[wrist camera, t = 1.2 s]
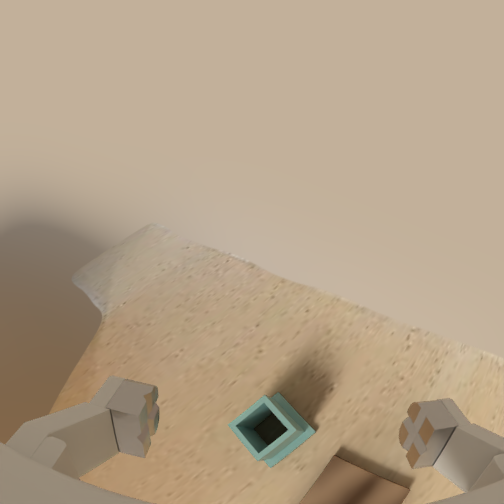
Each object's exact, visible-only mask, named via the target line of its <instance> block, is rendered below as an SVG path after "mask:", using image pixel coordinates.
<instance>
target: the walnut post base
mask: <svg viewBox="0 0 504 504" xmlns="http://www.w3.org/2000/svg"><path fill="white" fill-rule="evenodd" d="M409 491H410V489H409V488H406V487H404V486H401V485H399V484H396V483H394V482H392V481H389V480H387V479H385V478H382V477H380V476H378V475H375V474H373V473H371V472H369V471H367V470H364V469H362V468H360V467H358V466H356V465H354V464H352V463H350V462H348V461H346V460H344V459H342V458H340V457H338V456H336V455H334V456H333V457H332V459H331V460H330V462H329V463H328V465H327V466H326V468H325V469H324V471H323V472H322V473H321V475H320V476H319V478H318V479H317V480H316V482H315V483H314V485H313V486H312V487H311V489H310V490H309V491H308V493H307V494H306V495H305V497H304V498H303V499H302V500H301V502H300V503H299V504H401V503H402V502H403V501H404V499H405V498H406V496H407V495H408V493H409Z"/></svg>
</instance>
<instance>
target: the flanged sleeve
mask: <svg viewBox="0 0 504 504" xmlns="http://www.w3.org/2000/svg"><path fill="white" fill-rule="evenodd" d="M272 413H274V415H275V416H276V417H277V418H278V419H279V420H280V421H281V422H282V423H283V425H284V426H285V427H286V428H287V429H288V431H286V432H285V433H284V434H283V435H281V436H280V437H279V438H278V439H276V440H275V441H274V442H273V443H271V444H270V445H269V446H268V445H267V444H266V443H265V442H264V440H263V439H262V438H261V437H260V436H259V435H258V433H257V432H256V431H255V430H254V428H255V427H256V426H258V425H259V424H260V423H261V422H263V421H264V420H265V419H266V418H267V417H269V416H270V415H271V414H272ZM228 426H229V427H230V428H231V429H232V431H233V432H234V433H235V434H236V436H237V437H238V438H239V439H240V441H241V442H242V443H243V444H244V446H245V447H246V448H247V449H248V450H249V452H250V453H251V454H252V455H253V456H254V457H255V459H256V460H257V461H261V460H264V461H265V462H266V464H267V465H268V466H269V467H270V468H272V467H273V466H275V465H276V464H277V463H279V462H280V461H281V460H282V459H284V458H285V457H286V456H288V455H289V454H290V453H291V452H293V451H294V450H295V449H296V448H298V447H299V446H300V445H301V444H302V443H304V442H305V441H306V440H307V439H308V438H310V437H311V436H312V435H313V434H314V433H316V431H315V430H314V429H313V428H312V427H311V426H310V425H309V424H308V423H307V422H306V421H305V420H304V419H303V418H302V417H301V416H300V415H299V413H298V412H297V411H296V410H295V409H294V408H293V407H292V406H291V405H290V404H289V403H288V402H287V401H286V399H285V398H284V397H283V396H282V395H281V394H280V393H279V392H278V393H276V394H275V395H274V396H273V397H272V398H270V397H268V396H266V395H264V396H263V397H262V398H260V399H259V400H258V401H257V402H256V403H254V404H253V405H252V406H251V407H250V408H248V409H247V410H246V411H245V412H243V413H242V414H241V415H240V416H238V417H237V418H236V419H235V420H233V421H232V422H231V423H230V424H228Z"/></svg>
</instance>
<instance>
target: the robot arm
mask: <svg viewBox="0 0 504 504" xmlns="http://www.w3.org/2000/svg"><path fill="white" fill-rule="evenodd" d="M157 398H158V388H157V387H156V386H155V385H150V384H146V383H142V382H137V381H133V380H129V379H125V378H121V377H117V376H113V375H112V376H110V377H108V379H107V380H106V381H105V383H104V384H103V385H102V387H101V388H100V389H99V391H98V392H97V393H96V395H95V396H94V397H93V399H92V400H91V401H90V403H87V402H84V403H81V404H78V405H75V406H73V407H70V408H67V409H64V410H61V411H58V412H55V413H52V414H49V415H46V416H43V417H40V418H37V419H34V420H31V421H28V422H25V423H24V424H23V425H22V426H21V427H20V428H19V429H18V431H17V432H16V433H15V434H14V435H13V436H12V437H11V439H10V440H9V441H8V442H7V443H6V444H5V445H4V444H3V443H1V442H0V504H155V503H151V502H147V501H143V500H139V499H136V498H132V497H129V496H125V495H122V494H118V493H115V492H112V491H109V490H106V489H103V488H100V487H97V486H94V485H91V484H89V483H86V482H83V481H81V480H80V478H79V477H81V476H83V475H84V474H86V473H88V472H89V471H91V470H93V469H94V468H96V467H98V466H99V465H101V464H102V463H104V462H106V461H107V460H109V459H110V458H112V457H114V456H115V455H117V454H118V453H119V452H122V453H126V454H130V455H134V456H138V457H142V458H145V457H146V455H147V452H148V450H149V447H150V445H151V439H150V437H151V436H153V435H154V434H155V433H156V430H157V427H158V423H159V406H158V405H157V404H156V401H157ZM407 412H408V415H409V417H408V418H407V419H405V420H404V421H403V422H402V425H401V427H400V431H399V440H400V444H401V446H402V447H403V448H404V449H406V450H407V451H408V452H407V455H406V457H407V459H408V461H409V463H410V466H411V468H412V469H416V468H422V467H429V466H433V468H435V469H436V470H437V471H438V472H440V473H441V474H442V475H444V476H445V477H446V478H447V479H449V480H450V481H451V482H452V483H454V484H455V485H456V486H458V487H459V488H460V489H461V490H463V491H464V492H465V493H463V494H460V495H457V496H453V497H450V498H446V499H443V500H439V501H435V502H431V503H427V504H504V438H503V437H501V436H499V435H497V434H495V433H493V432H491V431H489V430H487V429H485V428H482V427H480V426H478V425H476V424H471V423H470V422H469V421H468V419H467V418H466V417H465V415H464V414H463V413H462V412H461V410H460V409H459V408H458V406H457V405H456V404H455V402H454V401H453V400H452V399H450V398H446V399H439V400H434V401H423V402H413V403H412V404H411V405H410V407H409V409H408V411H407Z"/></svg>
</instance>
